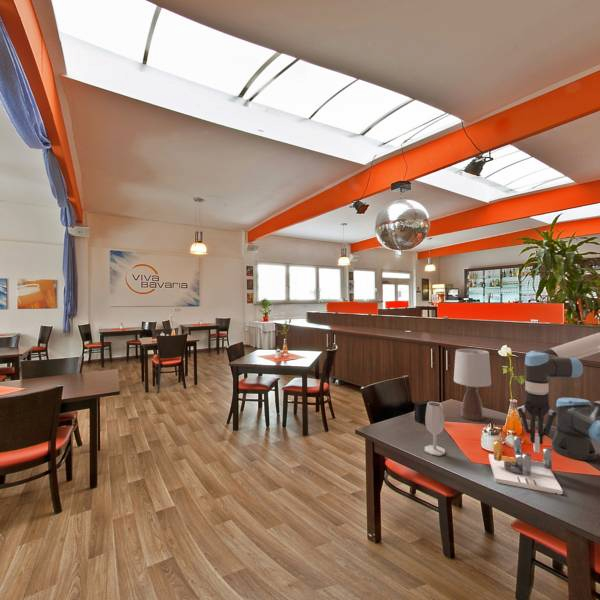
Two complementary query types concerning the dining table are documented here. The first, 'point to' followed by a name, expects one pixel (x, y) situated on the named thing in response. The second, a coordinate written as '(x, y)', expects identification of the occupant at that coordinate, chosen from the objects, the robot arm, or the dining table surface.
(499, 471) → the stand plate
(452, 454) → the dining table surface
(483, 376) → the lamp
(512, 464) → the silver metal piece
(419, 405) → the electronic device
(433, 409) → the wineglass
